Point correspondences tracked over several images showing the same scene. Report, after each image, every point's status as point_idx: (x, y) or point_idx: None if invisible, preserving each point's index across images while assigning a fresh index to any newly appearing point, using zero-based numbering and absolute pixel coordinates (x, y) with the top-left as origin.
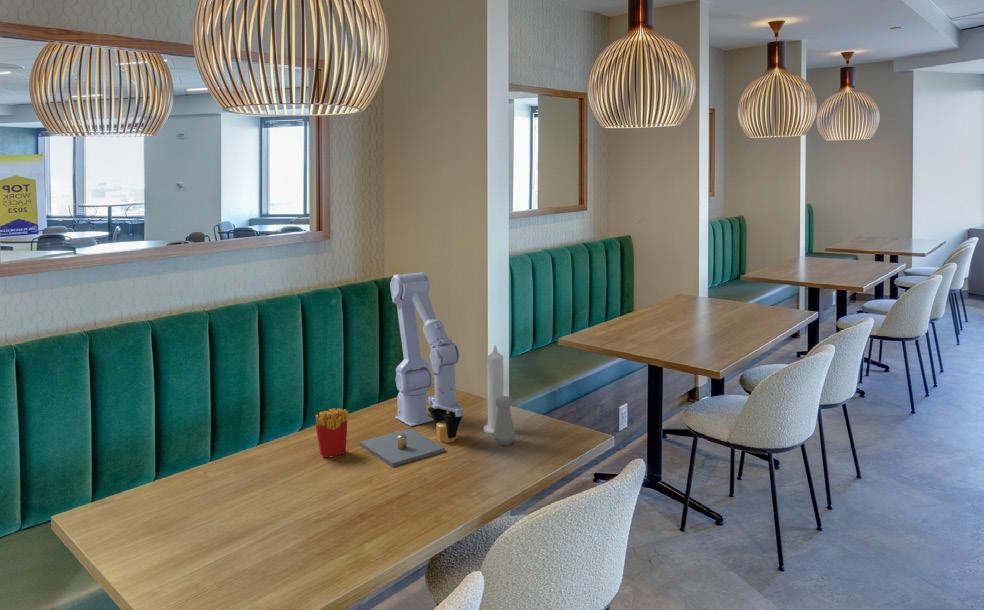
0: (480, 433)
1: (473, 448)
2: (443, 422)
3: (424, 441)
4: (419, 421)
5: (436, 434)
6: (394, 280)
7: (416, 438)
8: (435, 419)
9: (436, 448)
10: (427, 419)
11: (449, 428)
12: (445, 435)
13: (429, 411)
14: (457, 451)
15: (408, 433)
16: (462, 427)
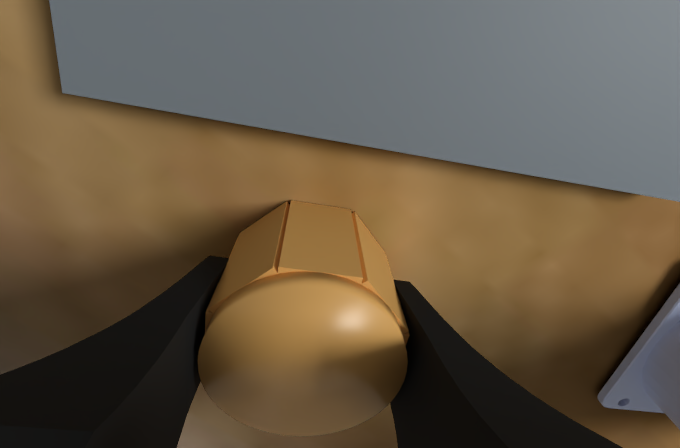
0: (227, 436)
1: (20, 282)
2: (352, 375)
3: (355, 65)
4: (674, 333)
5: (351, 233)
6: None
7: (482, 66)
8: (438, 360)
9: (98, 10)
10: (638, 383)
11: (137, 314)
12: (243, 256)
13: (587, 432)
14: (26, 165)
15: (635, 106)
16: (377, 429)
